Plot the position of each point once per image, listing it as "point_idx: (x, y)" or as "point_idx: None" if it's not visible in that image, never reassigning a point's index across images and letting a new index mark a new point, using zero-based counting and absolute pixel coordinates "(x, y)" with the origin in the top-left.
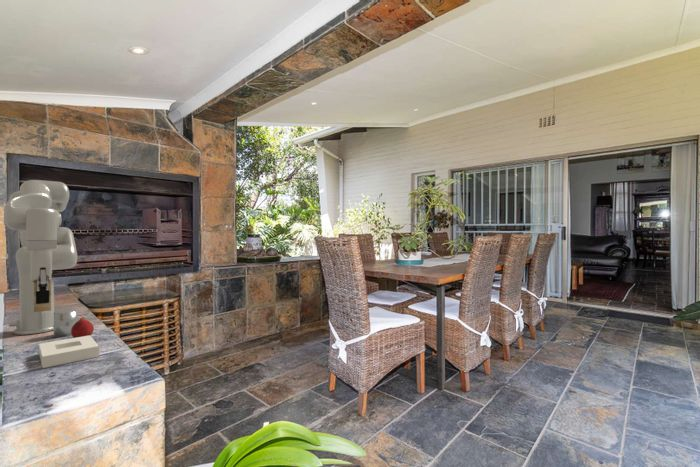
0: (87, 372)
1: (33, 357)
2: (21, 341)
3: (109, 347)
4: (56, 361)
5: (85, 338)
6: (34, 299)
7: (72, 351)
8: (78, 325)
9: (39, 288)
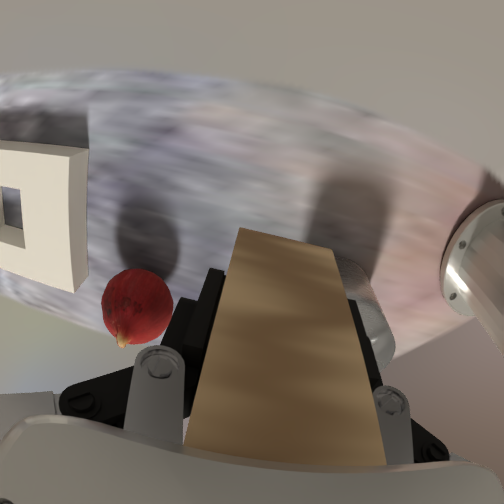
0: None
1: (66, 130)
2: (383, 165)
3: (32, 287)
4: None
5: (41, 269)
6: (225, 282)
7: None
8: (104, 304)
9: (123, 380)
